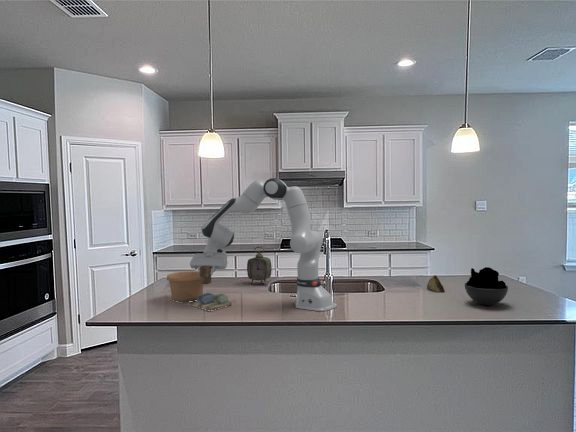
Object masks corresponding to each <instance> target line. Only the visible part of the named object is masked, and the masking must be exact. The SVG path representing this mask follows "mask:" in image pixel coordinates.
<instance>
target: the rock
mask: <svg viewBox="0 0 576 432" xmlns="http://www.w3.org/2000/svg"><path fill="white" fill-rule="evenodd" d="M426 289H427V290H430V291H431V292H436V293H446V290H445V287H444V285H443V284H442V283H441V280H440V279H439V278H438V276H437V275H436V274H434V275H433V276H431V278H430V279H429V280H428V282H427V284H426Z"/></svg>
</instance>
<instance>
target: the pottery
mask: <svg viewBox="0 0 576 432" xmlns="http://www.w3.org/2000/svg"><path fill="white" fill-rule="evenodd" d="M198 272H199V270H186V271H185V270H183V271H178V272H177V271H176V272H173V273H169V274H167V275H166V280H167V281H168V282H169V286H170V293H171V298H172V299H173V300H174V301H178V302H189V301H195V300H197V295H200V294H204V285H205V284H200V275H199V274H198ZM172 299H171V300H172ZM173 300H172V301H173ZM174 301H173V302H174ZM195 302H196V301H195Z"/></svg>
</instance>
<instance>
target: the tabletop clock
mask: <svg viewBox="0 0 576 432" xmlns="http://www.w3.org/2000/svg"><path fill="white" fill-rule="evenodd" d="M257 248H258V249H262V251H260V250H259V251H256V249H257ZM254 252H255V253H256V255H255V256H254V257H252V258H249V259H247V261H246V262H247V263H246V273H247V278H248V279H249V280H251V281H250V282H249V284H250V285H253V282H254V281H259V282H260V284H263V283H264V286H267V285H268V283H267V282H266V280H267V279H269V278H271V277H272V270H273V269H272V261H271V258H270V257H266V256H264V255H263V253H264V252H265V248H264V247H262V246H256V247H255V248H254ZM263 281H264V282H263Z"/></svg>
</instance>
